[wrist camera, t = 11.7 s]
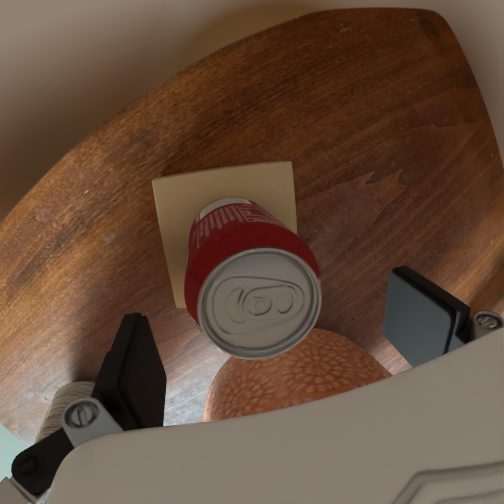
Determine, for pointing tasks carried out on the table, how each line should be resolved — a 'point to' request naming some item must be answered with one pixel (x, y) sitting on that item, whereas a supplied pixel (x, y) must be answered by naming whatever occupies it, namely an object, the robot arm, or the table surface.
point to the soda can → (249, 280)
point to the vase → (63, 405)
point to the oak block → (212, 189)
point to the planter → (291, 377)
